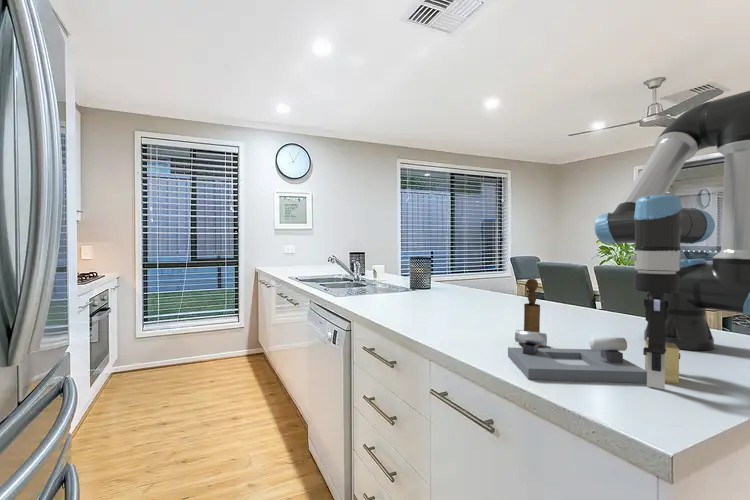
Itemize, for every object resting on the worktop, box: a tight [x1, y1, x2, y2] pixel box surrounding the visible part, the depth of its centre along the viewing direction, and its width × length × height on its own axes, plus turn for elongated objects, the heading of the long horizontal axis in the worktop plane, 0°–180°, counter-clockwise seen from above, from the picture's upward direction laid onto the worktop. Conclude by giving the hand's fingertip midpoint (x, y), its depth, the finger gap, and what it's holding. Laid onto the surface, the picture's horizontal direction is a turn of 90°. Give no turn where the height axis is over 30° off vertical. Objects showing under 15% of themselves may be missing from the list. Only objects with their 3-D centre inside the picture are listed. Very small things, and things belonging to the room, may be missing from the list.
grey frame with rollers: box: [507, 336, 647, 384], centre depth 85 cm, size 23×16×7 cm
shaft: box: [514, 329, 548, 355], centre depth 90 cm, size 6×4×5 cm
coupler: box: [642, 340, 681, 385], centre depth 79 cm, size 6×5×7 cm
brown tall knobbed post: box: [518, 278, 546, 348], centre depth 104 cm, size 7×6×18 cm
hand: (654, 377), depth 79 cm, fingers open, 12 cm apart
